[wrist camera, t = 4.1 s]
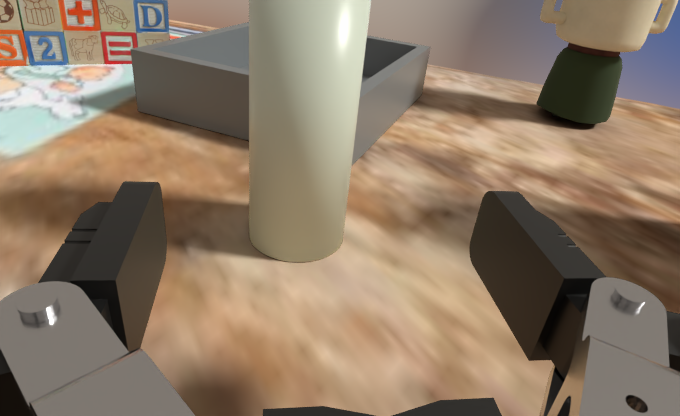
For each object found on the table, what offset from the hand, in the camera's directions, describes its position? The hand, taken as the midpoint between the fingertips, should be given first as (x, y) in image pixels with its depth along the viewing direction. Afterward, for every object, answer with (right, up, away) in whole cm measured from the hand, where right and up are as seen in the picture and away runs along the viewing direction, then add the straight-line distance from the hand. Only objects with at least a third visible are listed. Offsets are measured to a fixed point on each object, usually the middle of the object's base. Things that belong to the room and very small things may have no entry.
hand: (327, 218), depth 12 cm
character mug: (+22, +8, +32) cm, 40 cm away
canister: (-2, -1, +12) cm, 12 cm away
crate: (-3, +9, +29) cm, 31 cm away
